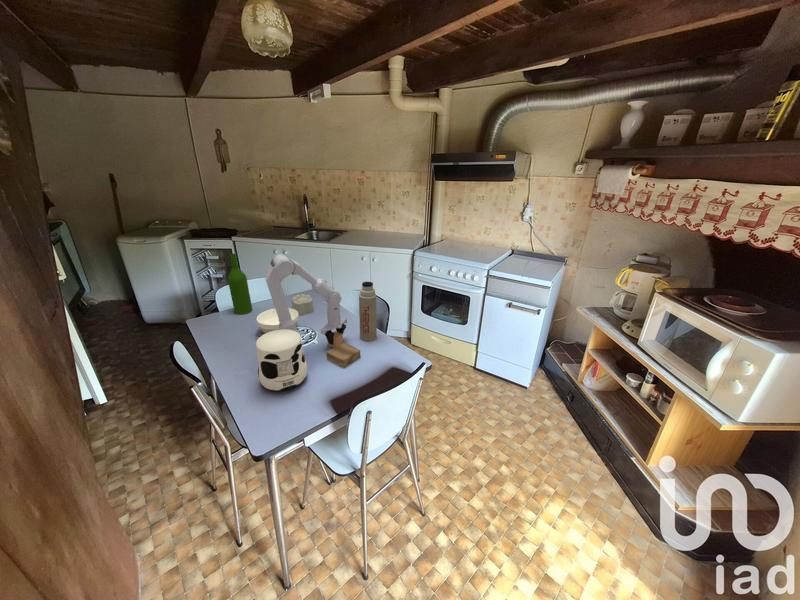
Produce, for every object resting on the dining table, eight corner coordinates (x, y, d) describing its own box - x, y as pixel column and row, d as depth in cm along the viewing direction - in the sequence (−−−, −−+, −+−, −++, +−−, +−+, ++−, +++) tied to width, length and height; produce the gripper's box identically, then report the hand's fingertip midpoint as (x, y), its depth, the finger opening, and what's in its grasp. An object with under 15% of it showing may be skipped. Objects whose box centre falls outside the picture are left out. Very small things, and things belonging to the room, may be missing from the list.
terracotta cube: (335, 348, 139) (334, 338, 137) (327, 344, 142) (327, 335, 140) (343, 343, 143) (342, 334, 141) (335, 340, 146) (335, 331, 144)
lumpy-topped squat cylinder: (296, 316, 167) (294, 302, 164) (290, 307, 177) (288, 293, 174) (315, 312, 172) (313, 298, 169) (308, 304, 182) (306, 290, 179)
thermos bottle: (370, 343, 144) (370, 287, 133) (356, 338, 148) (355, 284, 136) (379, 335, 151) (379, 282, 140) (365, 331, 154) (365, 278, 143)
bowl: (305, 324, 159) (304, 308, 156) (290, 343, 142) (288, 326, 139) (271, 321, 161) (268, 306, 158) (251, 339, 144) (248, 323, 140)
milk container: (282, 362, 128) (276, 324, 121) (317, 372, 123) (313, 333, 116) (249, 387, 113) (241, 345, 106) (287, 400, 108) (281, 357, 101)
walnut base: (343, 368, 126) (343, 360, 125) (327, 360, 131) (326, 352, 130) (360, 357, 134) (360, 350, 132) (344, 350, 139) (343, 342, 137)
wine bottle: (255, 310, 172) (245, 253, 159) (240, 316, 165) (229, 257, 152) (246, 306, 176) (235, 251, 163) (231, 312, 169) (219, 254, 156)
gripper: (328, 323, 129) (330, 351, 134) (351, 311, 140) (352, 337, 145) (316, 319, 133) (318, 346, 138) (340, 307, 144) (341, 333, 149)
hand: (335, 341), depth 142 cm, fingers closed on terracotta cube, 5 cm apart
